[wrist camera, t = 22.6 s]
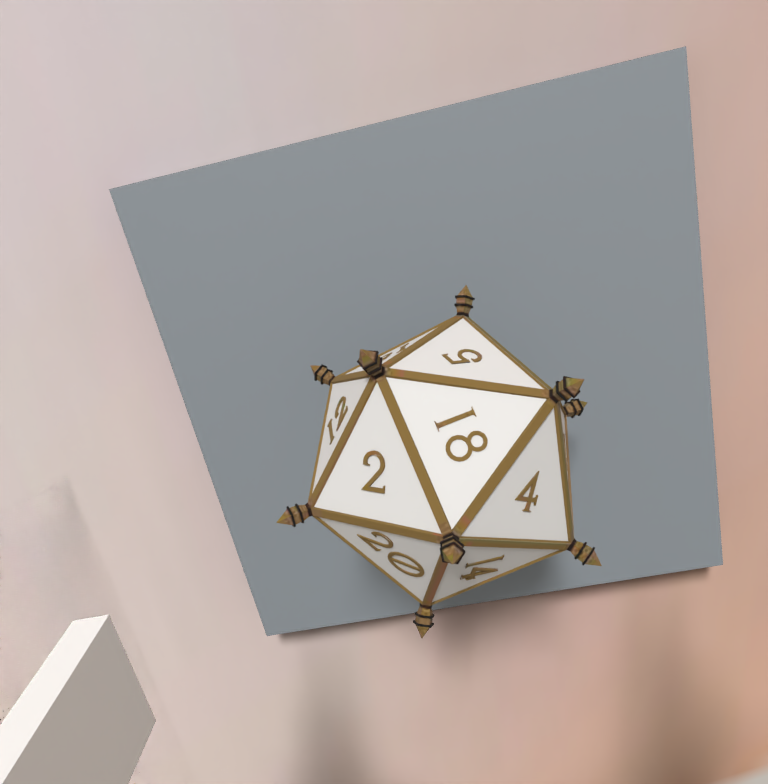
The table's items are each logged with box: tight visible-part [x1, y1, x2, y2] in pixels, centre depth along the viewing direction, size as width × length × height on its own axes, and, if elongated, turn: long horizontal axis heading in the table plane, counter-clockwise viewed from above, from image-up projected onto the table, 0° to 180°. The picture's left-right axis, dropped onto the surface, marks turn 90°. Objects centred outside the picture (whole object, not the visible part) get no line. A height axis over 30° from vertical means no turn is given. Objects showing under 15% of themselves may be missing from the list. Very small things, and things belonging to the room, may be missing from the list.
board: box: [109, 47, 723, 636], centre depth 25 cm, size 18×18×2 cm
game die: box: [276, 285, 602, 638], centre depth 19 cm, size 9×8×10 cm
